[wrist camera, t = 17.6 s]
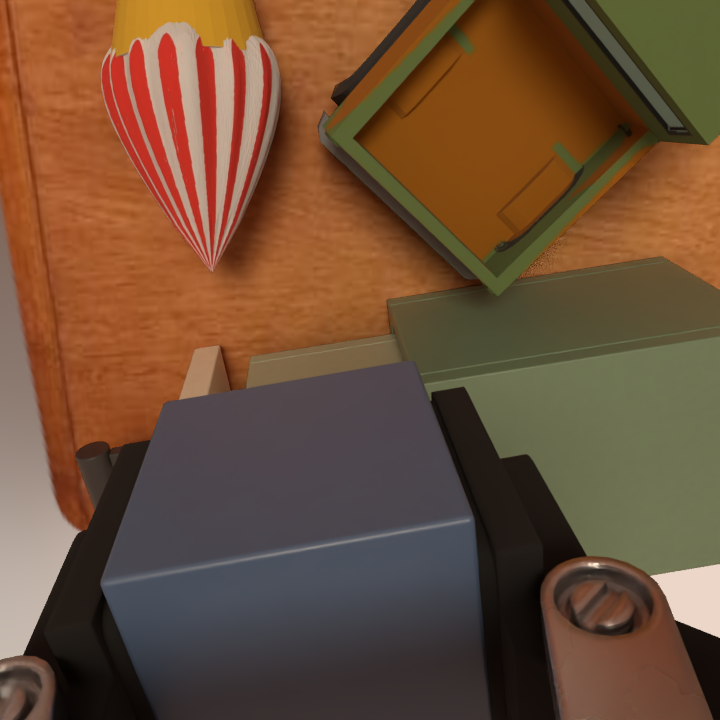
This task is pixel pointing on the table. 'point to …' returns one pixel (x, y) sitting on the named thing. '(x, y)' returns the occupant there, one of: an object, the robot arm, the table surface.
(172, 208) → the ice cream cone
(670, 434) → the cabinet
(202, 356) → the drawer
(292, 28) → the table surface
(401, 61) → the toy truck
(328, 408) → the block
